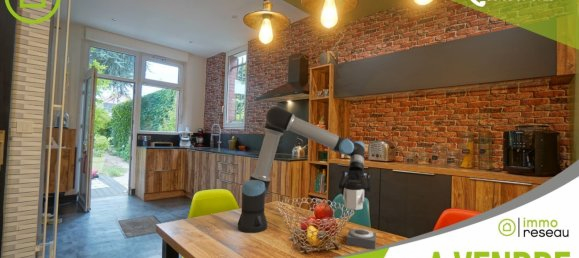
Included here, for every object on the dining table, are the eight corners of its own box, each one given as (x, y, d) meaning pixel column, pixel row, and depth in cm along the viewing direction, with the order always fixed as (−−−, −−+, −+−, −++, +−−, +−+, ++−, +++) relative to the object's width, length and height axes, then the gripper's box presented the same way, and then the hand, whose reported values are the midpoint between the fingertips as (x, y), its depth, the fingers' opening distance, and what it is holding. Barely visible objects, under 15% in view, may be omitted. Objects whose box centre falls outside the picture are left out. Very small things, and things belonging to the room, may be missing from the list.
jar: (353, 210, 127) (353, 185, 127) (340, 207, 134) (341, 182, 134) (366, 208, 132) (366, 183, 132) (353, 204, 139) (353, 181, 139)
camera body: (346, 244, 118) (346, 234, 119) (349, 236, 129) (349, 227, 129) (375, 249, 114) (375, 238, 115) (375, 240, 125) (376, 230, 125)
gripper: (377, 170, 144) (376, 208, 129) (337, 168, 151) (332, 203, 136) (377, 161, 140) (376, 199, 124) (336, 159, 146) (330, 195, 131)
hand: (353, 201), depth 130 cm, fingers closed on jar, 8 cm apart
